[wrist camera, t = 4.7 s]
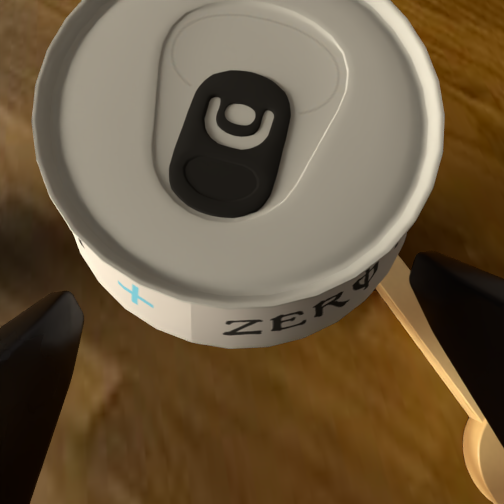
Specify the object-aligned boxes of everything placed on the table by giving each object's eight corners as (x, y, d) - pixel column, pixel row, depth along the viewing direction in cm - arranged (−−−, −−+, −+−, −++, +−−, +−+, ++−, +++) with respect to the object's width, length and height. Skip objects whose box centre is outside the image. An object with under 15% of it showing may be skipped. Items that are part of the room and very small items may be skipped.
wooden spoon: (291, 226, 19) (294, 220, 18) (366, 177, 20) (374, 168, 18) (512, 537, 16) (533, 555, 15) (590, 466, 17) (616, 477, 16)
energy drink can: (301, 234, 19) (518, -38, 4) (278, 330, 18) (462, 443, 3) (208, 209, 19) (87, -142, 4) (179, 304, 18) (-125, 282, 3)
